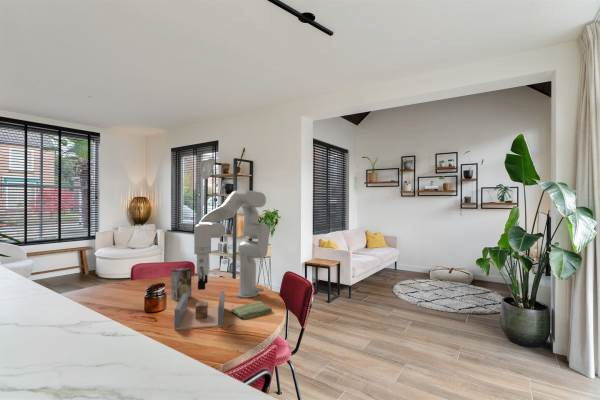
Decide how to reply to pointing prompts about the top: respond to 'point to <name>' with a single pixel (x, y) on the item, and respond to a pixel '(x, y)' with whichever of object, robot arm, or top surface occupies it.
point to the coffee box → (180, 283)
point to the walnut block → (201, 310)
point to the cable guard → (187, 316)
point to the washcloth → (251, 310)
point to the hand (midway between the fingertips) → (202, 286)
